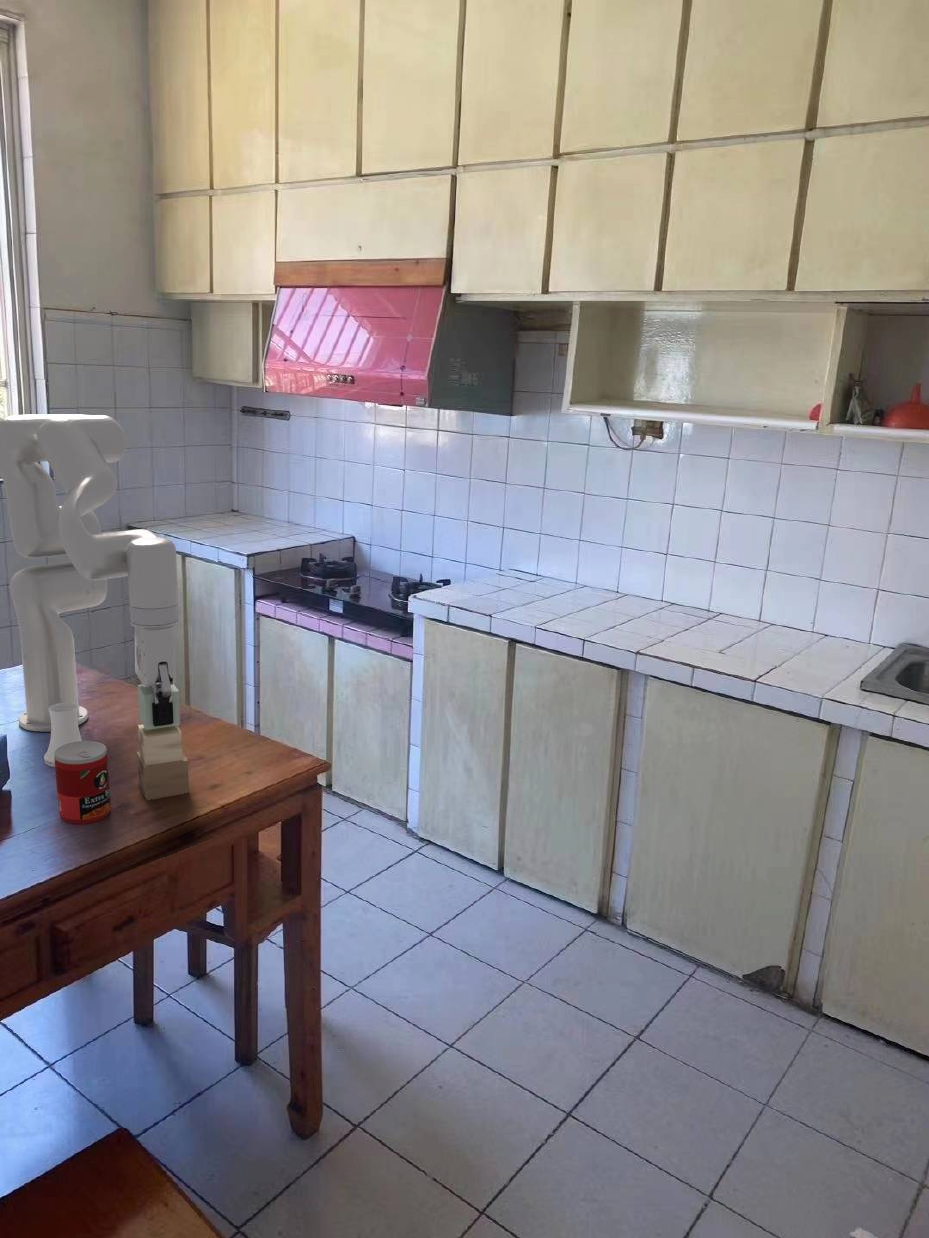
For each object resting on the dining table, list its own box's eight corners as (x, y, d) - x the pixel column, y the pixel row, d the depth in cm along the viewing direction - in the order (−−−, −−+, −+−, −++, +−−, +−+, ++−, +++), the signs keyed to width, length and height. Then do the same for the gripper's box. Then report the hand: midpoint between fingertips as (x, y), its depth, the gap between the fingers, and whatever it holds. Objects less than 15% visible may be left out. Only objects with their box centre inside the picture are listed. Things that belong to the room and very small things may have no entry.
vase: (48, 770, 162) (44, 717, 159) (41, 755, 168) (36, 703, 165) (93, 762, 166) (90, 710, 163) (84, 747, 172) (80, 697, 170)
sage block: (139, 718, 155) (137, 684, 154) (172, 713, 158) (171, 680, 156) (145, 729, 151) (144, 695, 149) (180, 725, 153) (178, 691, 152)
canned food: (87, 829, 143) (82, 763, 140) (47, 818, 146) (42, 754, 143) (122, 808, 150) (118, 746, 147) (83, 798, 153) (78, 737, 150)
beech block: (139, 752, 157) (137, 724, 156) (175, 746, 160) (174, 719, 159) (145, 765, 152) (143, 737, 151) (182, 760, 155) (181, 732, 153)
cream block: (138, 783, 159) (136, 751, 157) (179, 776, 162) (178, 745, 161) (146, 800, 153) (144, 767, 151) (189, 793, 156) (187, 760, 155)
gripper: (120, 603, 155) (126, 704, 159) (140, 630, 140) (146, 740, 145) (166, 599, 158) (170, 698, 163) (190, 625, 144) (194, 733, 149)
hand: (159, 717), depth 154 cm, fingers closed on sage block, 5 cm apart
